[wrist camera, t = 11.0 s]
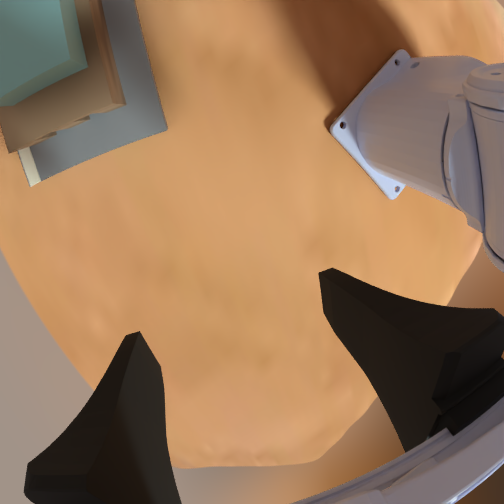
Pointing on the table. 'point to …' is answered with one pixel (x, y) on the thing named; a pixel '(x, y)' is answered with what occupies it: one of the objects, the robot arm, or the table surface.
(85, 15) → the notched tan block
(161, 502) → the robot arm
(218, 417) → the table surface
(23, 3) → the teal block
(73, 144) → the book
